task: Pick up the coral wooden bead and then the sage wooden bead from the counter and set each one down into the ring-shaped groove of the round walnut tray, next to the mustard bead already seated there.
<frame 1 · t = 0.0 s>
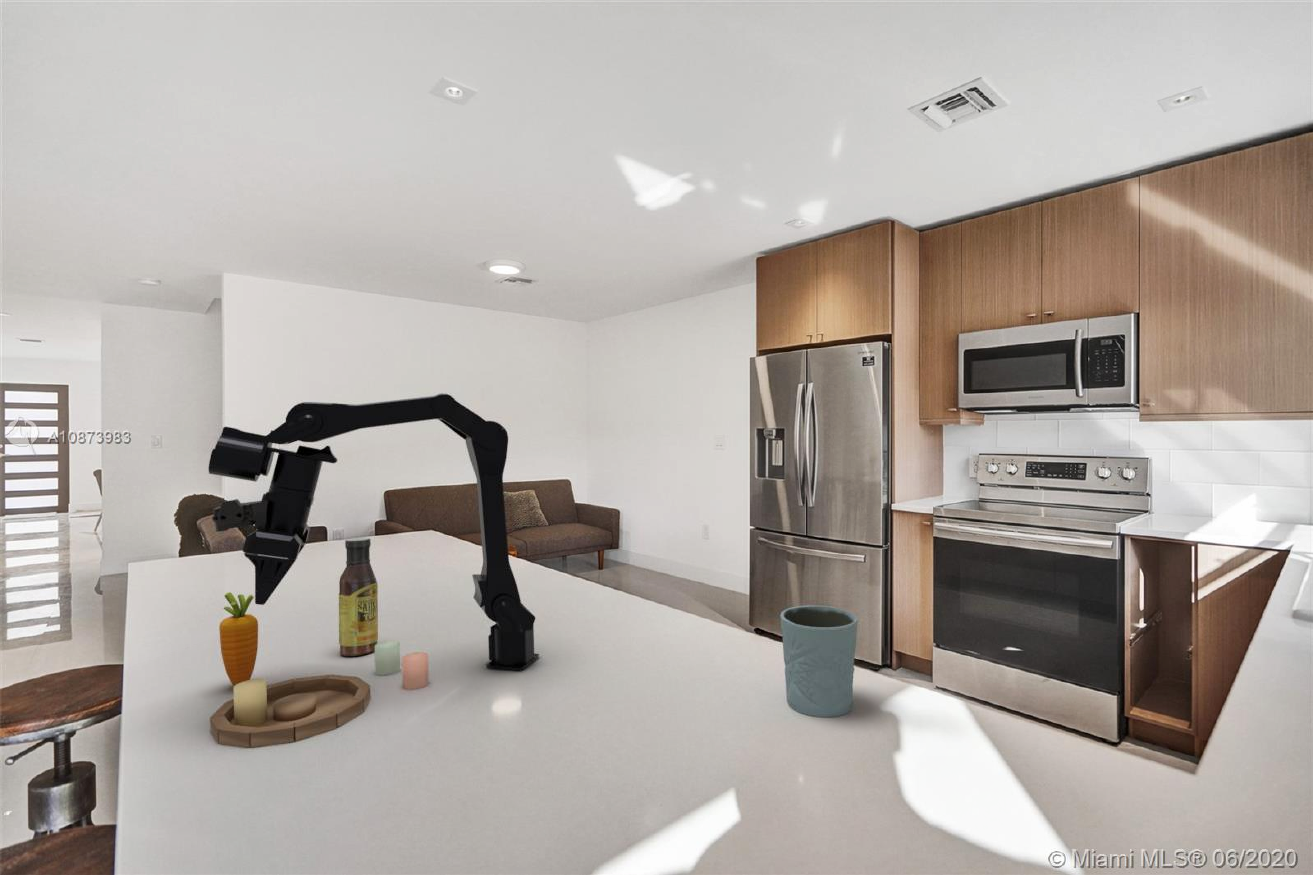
hand: (264, 596, 90), 15 cm above the counter, tool pointing down, fingers open, 9 cm apart
bead sage: (388, 676, 100), on the counter
sauce bottle: (359, 652, 112), on the counter
teal embossed cup: (820, 705, 85), on the counter
groove tray: (295, 719, 85), on the counter
bead mustard: (251, 722, 83), point 1 cm above the counter, touching groove tray
carrot: (240, 693, 95), on the counter
bead coral: (415, 690, 94), on the counter
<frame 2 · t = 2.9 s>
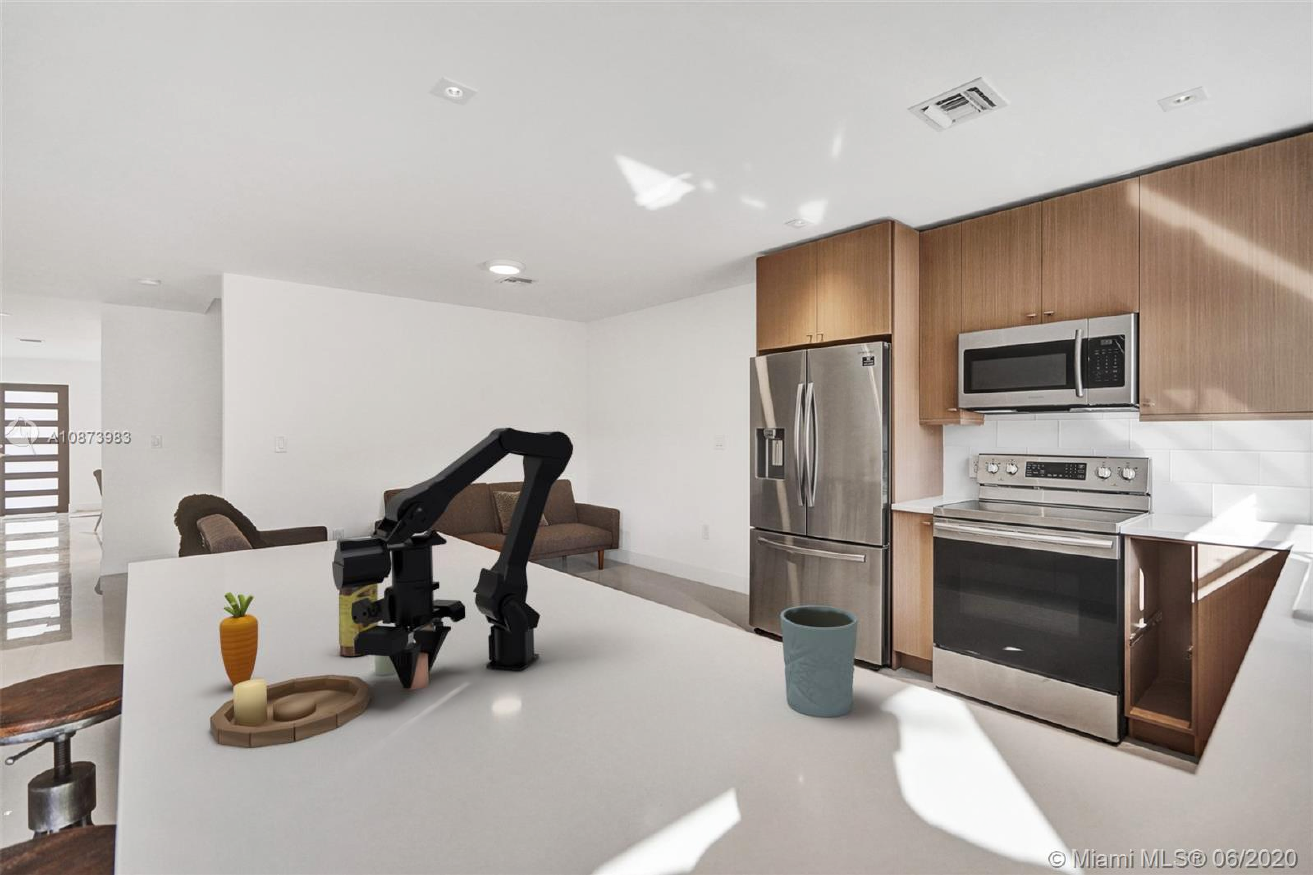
hand: (415, 683, 94), 1 cm above the counter, tool pointing down, fingers closed on bead coral, 4 cm apart
bead coral: (415, 690, 94), on the counter, touching gripper
everything else where it was.
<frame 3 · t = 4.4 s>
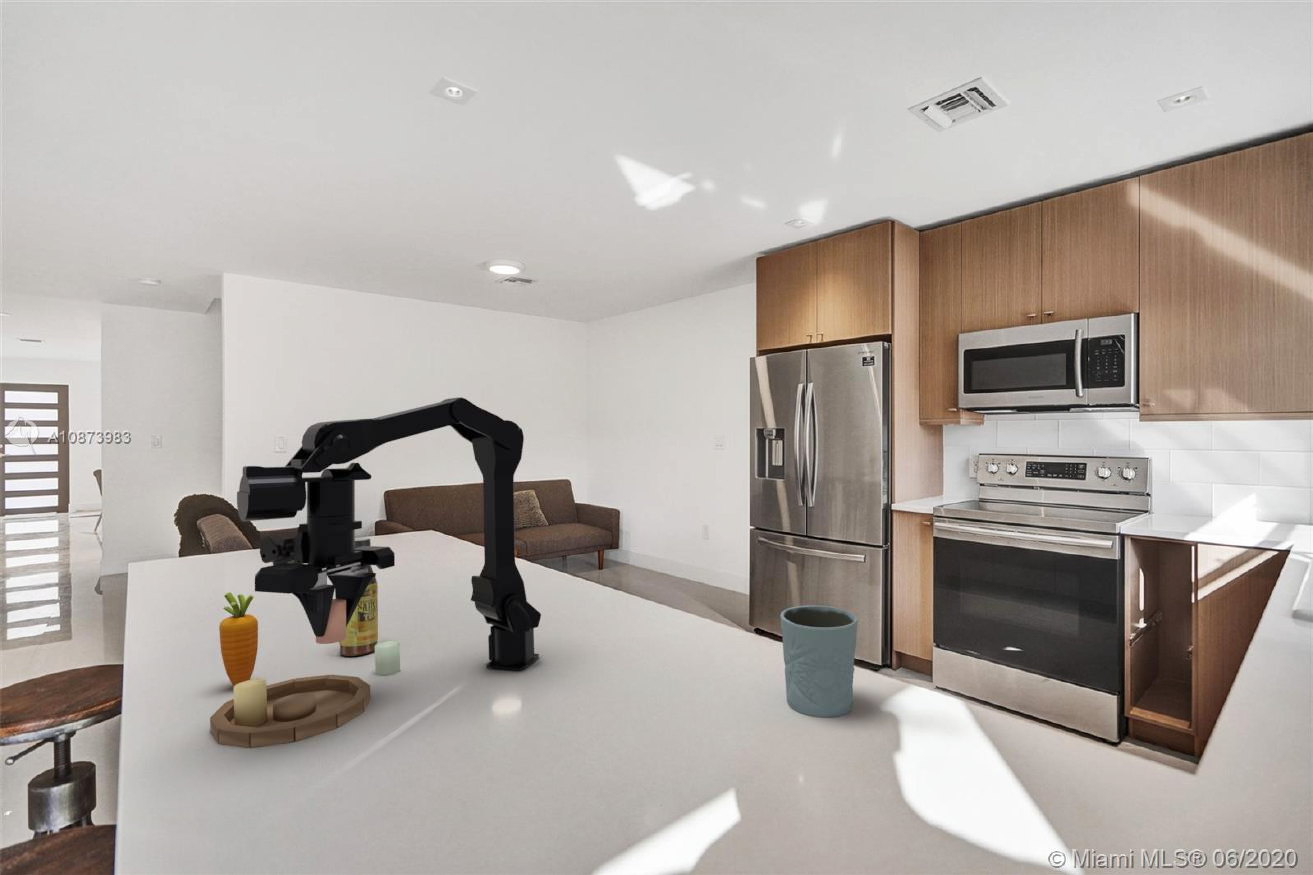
hand: (331, 632, 85), 12 cm above the counter, tool pointing down, fingers closed on bead coral, 4 cm apart
bead coral: (331, 639, 85), point 11 cm above the counter, touching gripper
everything else where it was.
when the fingers open (3 cm above the counter, at t = 6.2 s): bead coral drops 2 cm, resting on groove tray.
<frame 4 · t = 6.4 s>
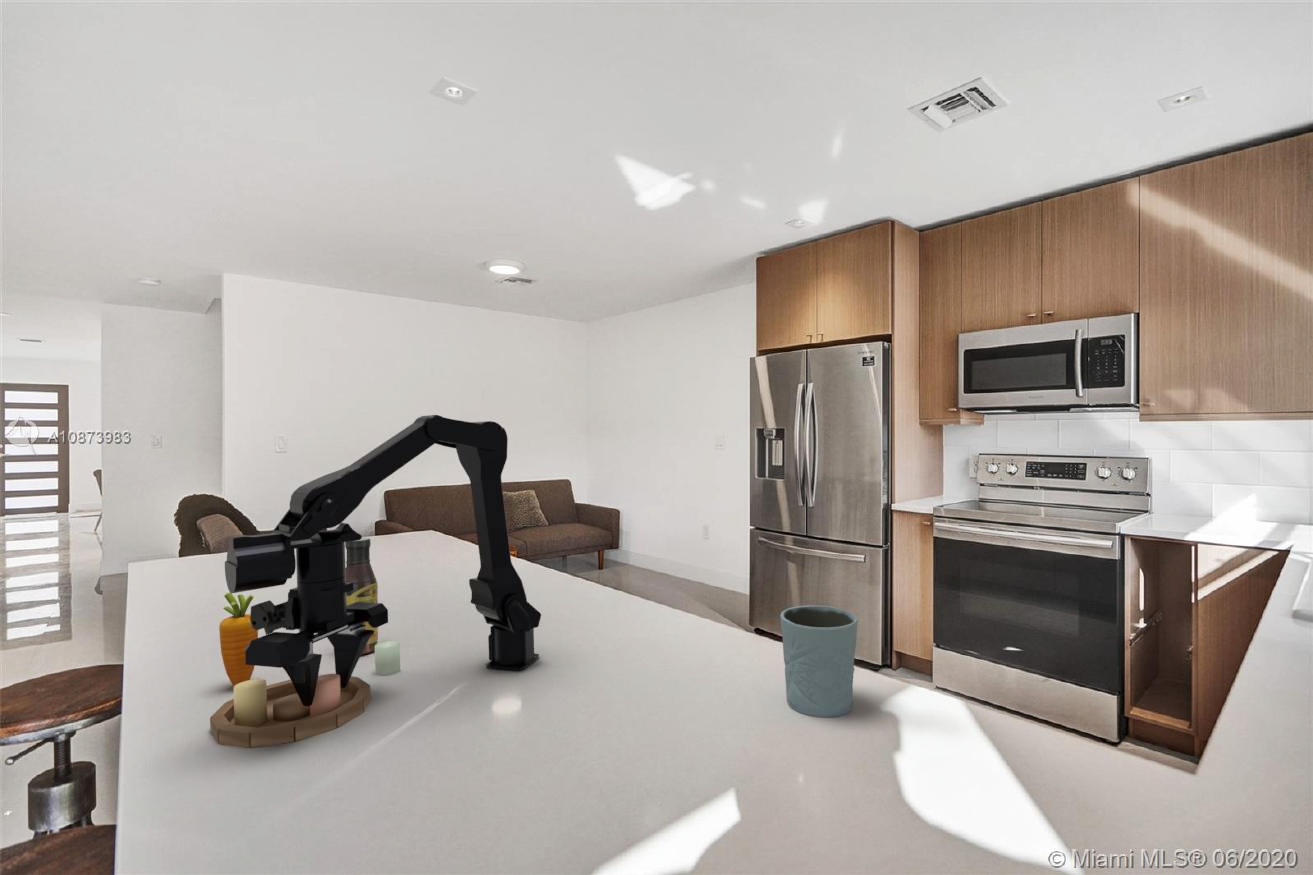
hand: (325, 696, 84), 3 cm above the counter, tool pointing down, fingers open, 6 cm apart
bead coral: (325, 716, 84), point 1 cm above the counter, touching groove tray
everything else where it was.
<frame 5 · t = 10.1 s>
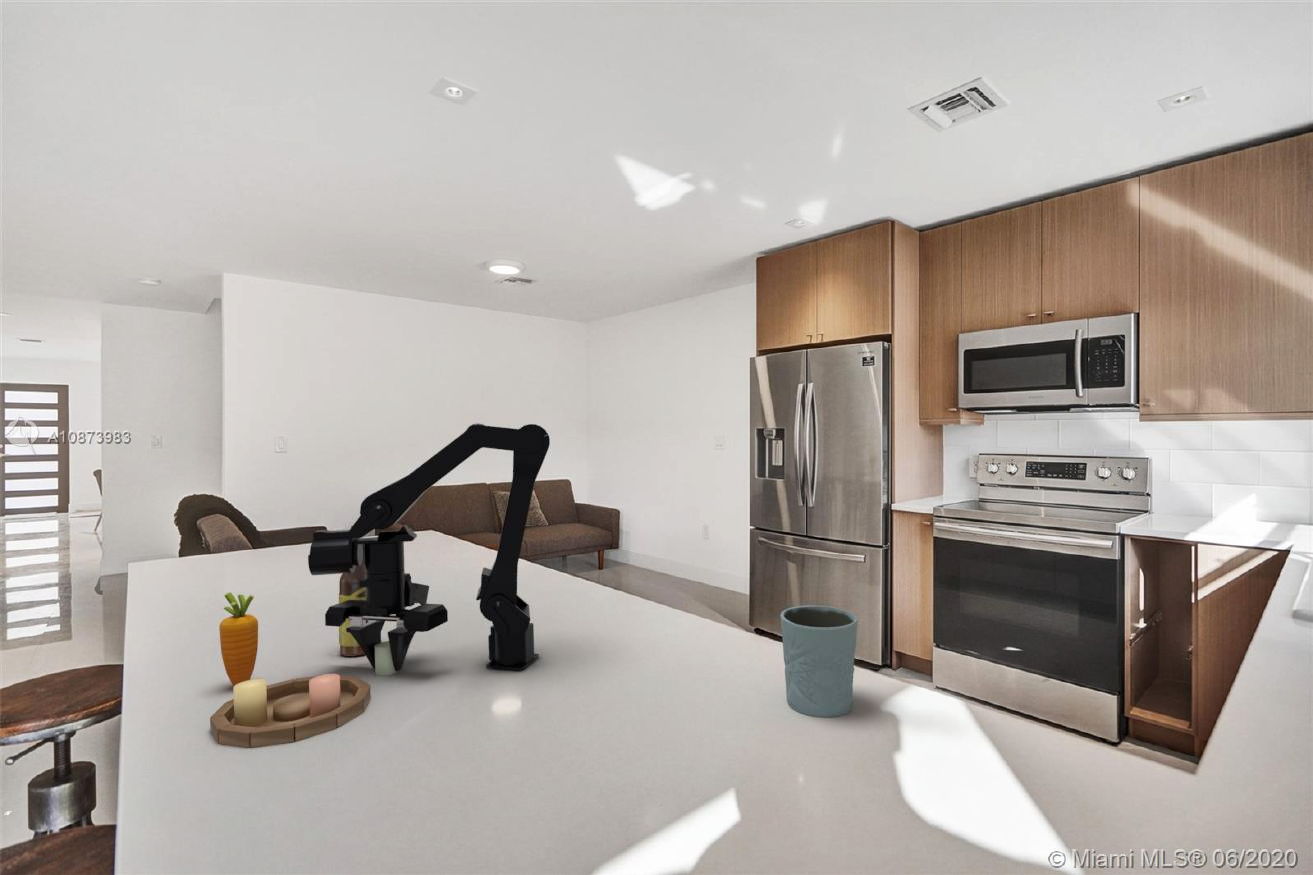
hand: (387, 669, 100), 1 cm above the counter, tool pointing down, fingers closed on bead sage, 4 cm apart
bead sage: (388, 676, 100), on the counter, touching gripper
everything else where it was.
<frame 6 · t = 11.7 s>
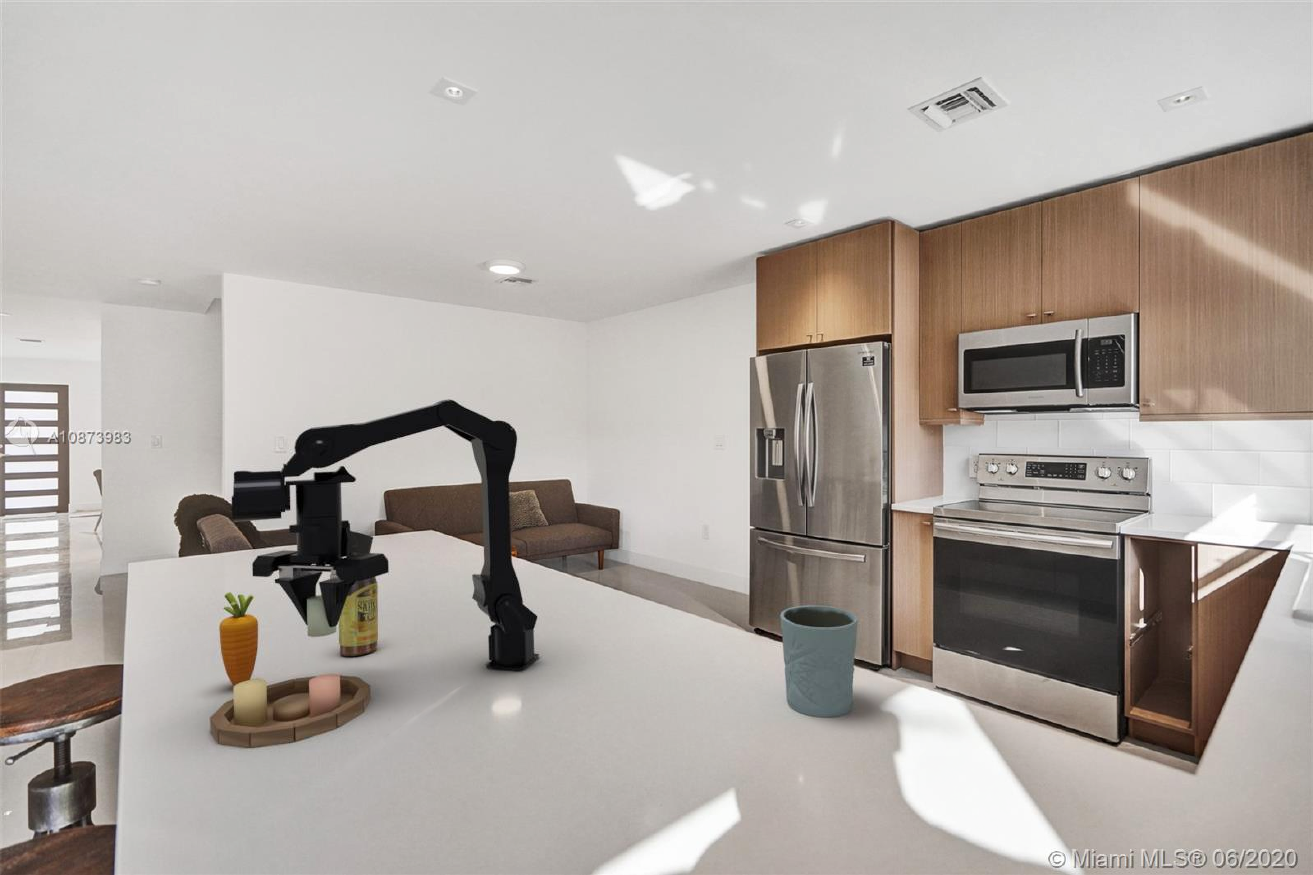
hand: (321, 625, 90), 11 cm above the counter, tool pointing down, fingers closed on bead sage, 4 cm apart
bead sage: (322, 632, 90), point 10 cm above the counter, touching gripper
everything else where it was.
when the fingers open (3 cm above the counter, at t = 13.3 s): bead sage drops 2 cm, resting on groove tray.
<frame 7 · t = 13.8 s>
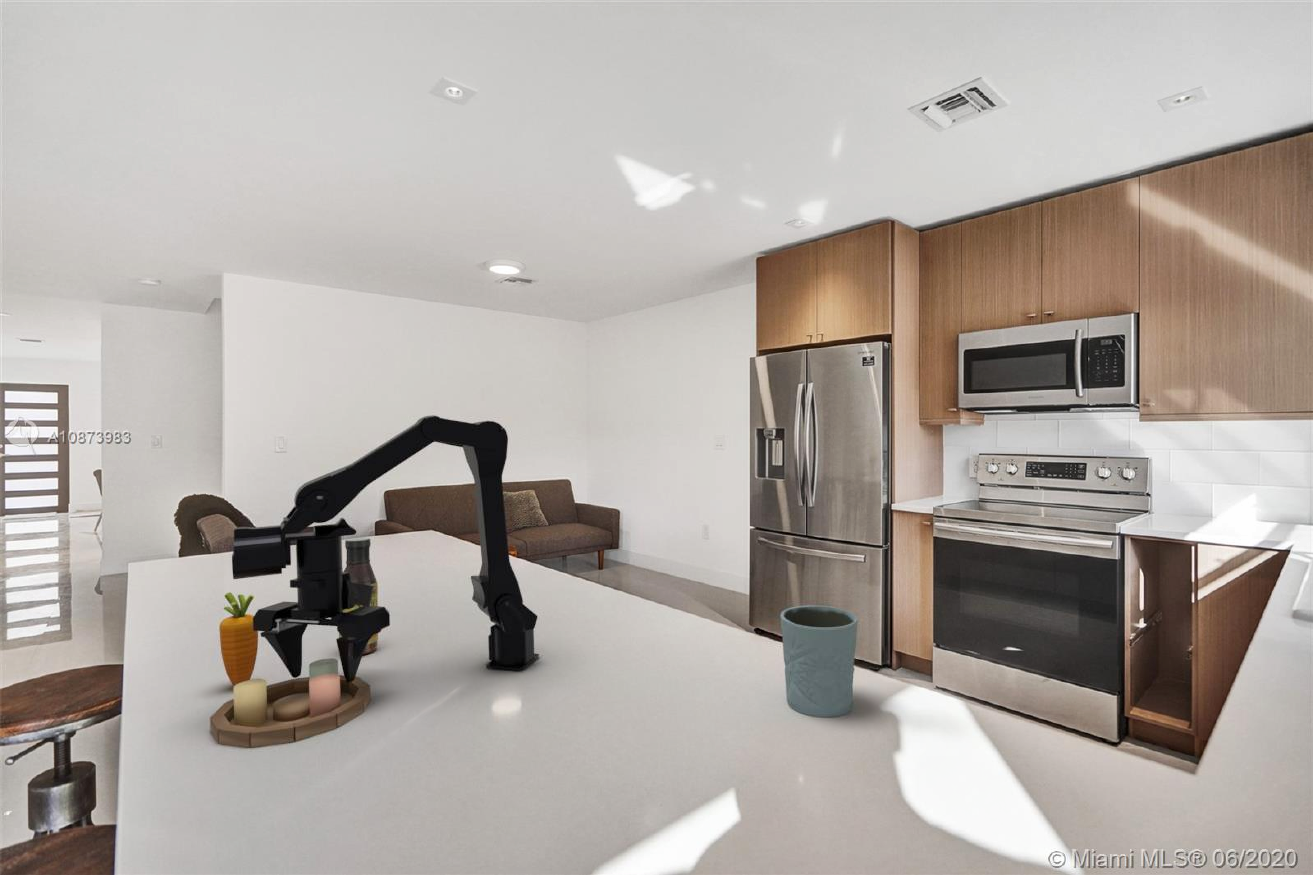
hand: (323, 679, 90), 3 cm above the counter, tool pointing down, fingers open, 9 cm apart
bead sage: (324, 698, 90), point 1 cm above the counter, touching groove tray
everything else where it was.
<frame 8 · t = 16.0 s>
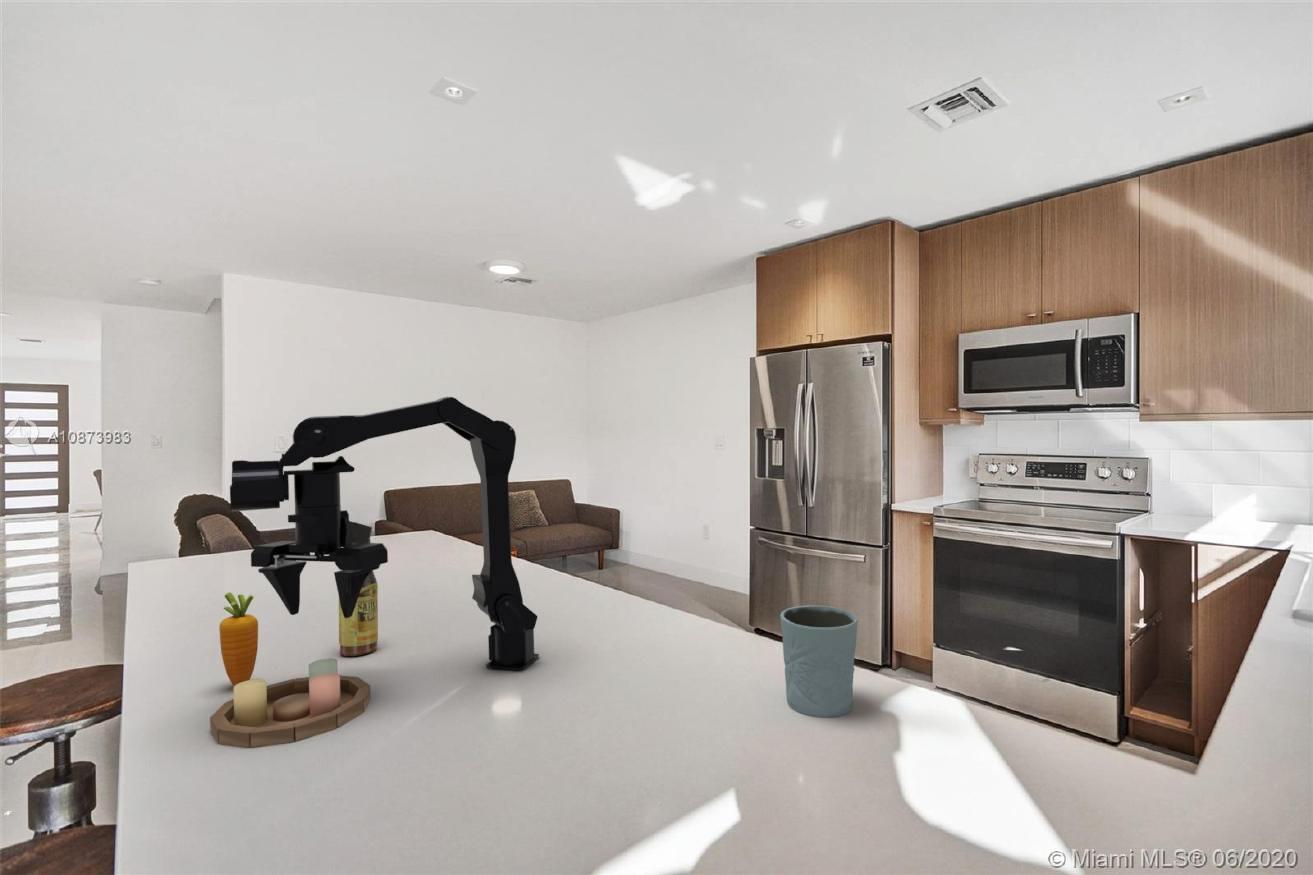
hand: (321, 615, 90), 12 cm above the counter, tool pointing down, fingers open, 9 cm apart
nothing on the counter moved.
at the end: bead coral 0.0 cm from the target spot on the groove tray, point 0.8 cm above the groove tray's base; bead sage 0.1 cm from the target spot on the groove tray, point 0.8 cm above the groove tray's base; bead sage tilted 0° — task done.
